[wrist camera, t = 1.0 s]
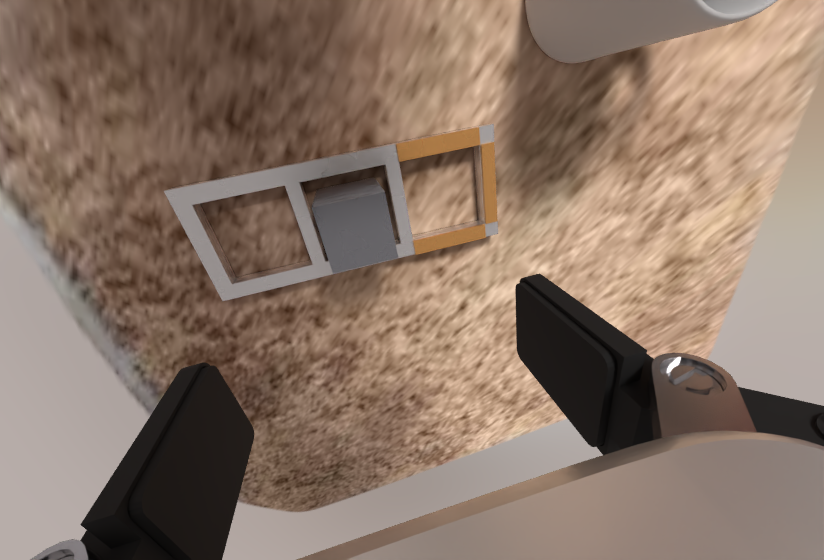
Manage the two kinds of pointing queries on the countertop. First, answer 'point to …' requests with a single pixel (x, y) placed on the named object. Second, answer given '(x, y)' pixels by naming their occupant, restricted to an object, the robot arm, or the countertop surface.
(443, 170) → the countertop surface
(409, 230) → the grey flat frame
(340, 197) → the grey rectangular block
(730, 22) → the mug
